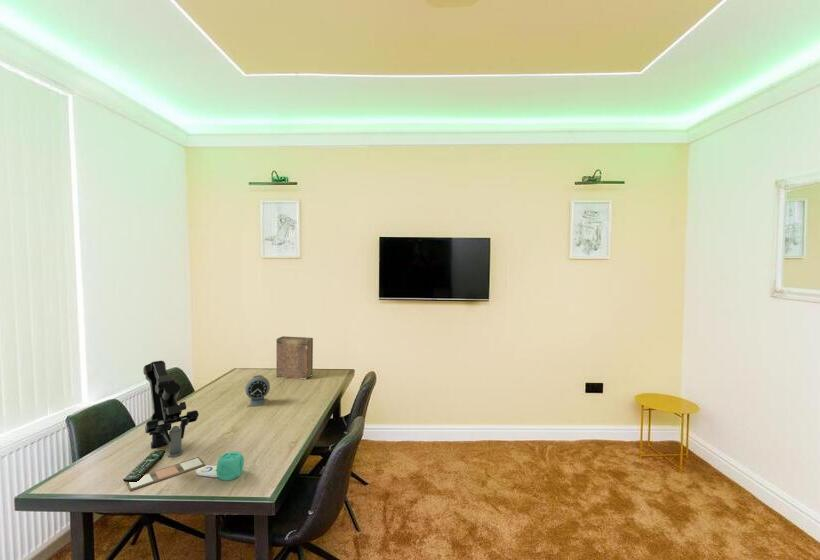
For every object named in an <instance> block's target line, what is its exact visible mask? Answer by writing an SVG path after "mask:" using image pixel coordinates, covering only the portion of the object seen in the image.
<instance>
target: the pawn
mask: <svg viewBox="0 0 820 560" xmlns="http://www.w3.org/2000/svg"><path fill="white" fill-rule="evenodd" d="M168 434H169V437H170V442H168V452H167V457H168V458H170V459H175V458H178V457H181V456H183V454H184V449H182V445H183V444H182V430H181V429H180V426H178V425H174V426H171V430H170V431H168Z"/></svg>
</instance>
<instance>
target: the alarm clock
mask: <svg viewBox="0 0 820 560" xmlns="http://www.w3.org/2000/svg"><path fill="white" fill-rule="evenodd" d="M270 389H271V385H270V381H269V379H268V378H267V377H265V376H264V375H263V374H255V375H253V376H252V377H251V378H250V379H248V380H247V381H246V383H245V386H244V391H245V394H246V396H247V397H248V398H250V399H249V400H246V408H252V407H253V408H254V407H260V406H269V405H270V403H269V399H268V398H265V397H266V396H267V395H268V394H269V392H270Z"/></svg>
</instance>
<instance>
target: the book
mask: <svg viewBox="0 0 820 560" xmlns="http://www.w3.org/2000/svg"><path fill="white" fill-rule="evenodd" d="M313 349H314V338H313V337H305V336H303V337H302V336H285V335H284V336H283V335H282V336H280V337H278V338H276V378H278V377H287V378H286V379H291V378H306V379H308V380H309V378H310V377H312V376H313V373H314V372H313V370H314V369H313V367H314V366H313V365H314V364H313V363H314V362H313V361H314V360H313V358H314V353H313V352H314V350H313ZM311 375H312V376H311ZM308 377H309V378H308Z"/></svg>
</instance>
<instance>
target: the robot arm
mask: <svg viewBox="0 0 820 560" xmlns="http://www.w3.org/2000/svg"><path fill="white" fill-rule="evenodd" d="M166 367H167V366H166V361H164V360H155V361H154V360H153V361H152V362H150V363H148V364H145V365H144V367H143V370H142V371H143V375H144V376H145V380H147V381H148V382H149V384H150V394H151V403H152V412H153V413H152V415H151V416H150V419H149V420H148V421H147V422H146V423H145V426H144V432H145V434H148V435H149V436H151V441H150V448H151V449H155V448H160V447H164V446H169V442H170V437H169V431H171V429H172V424H176V423H180V425H179V428H180V429H181V430H182V439H184V437H185V431H186V426H188V425H189V423H194V422H196V421H197V420H198V418H199V414H200V413H199V411H198V409H197V410H196V409H195V410H191V411H190V410H189V411H187V412H186V415H182V411H184V410H186V409H187V404H186V401H182V402H180V403H179V404H178V400H177V399H178V397H179V394H180V390H181V385H180V384H179V383H178V382H177V381H176V380H175V378H174V377H173V376H170V375H169V373H168V372H167V368H166ZM181 415H182V416H181Z"/></svg>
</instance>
